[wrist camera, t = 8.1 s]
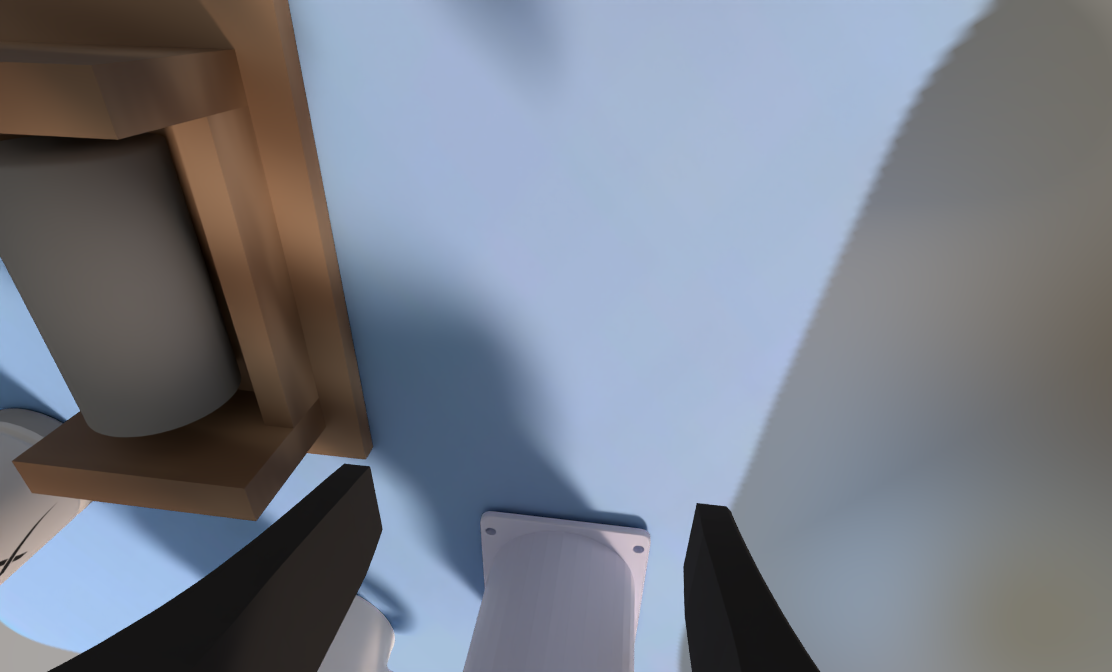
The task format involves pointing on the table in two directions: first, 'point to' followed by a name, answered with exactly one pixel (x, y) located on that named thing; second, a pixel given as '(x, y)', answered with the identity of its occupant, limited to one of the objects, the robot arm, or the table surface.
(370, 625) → the mug
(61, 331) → the roll
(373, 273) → the table surface
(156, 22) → the cradle
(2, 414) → the travel mug
